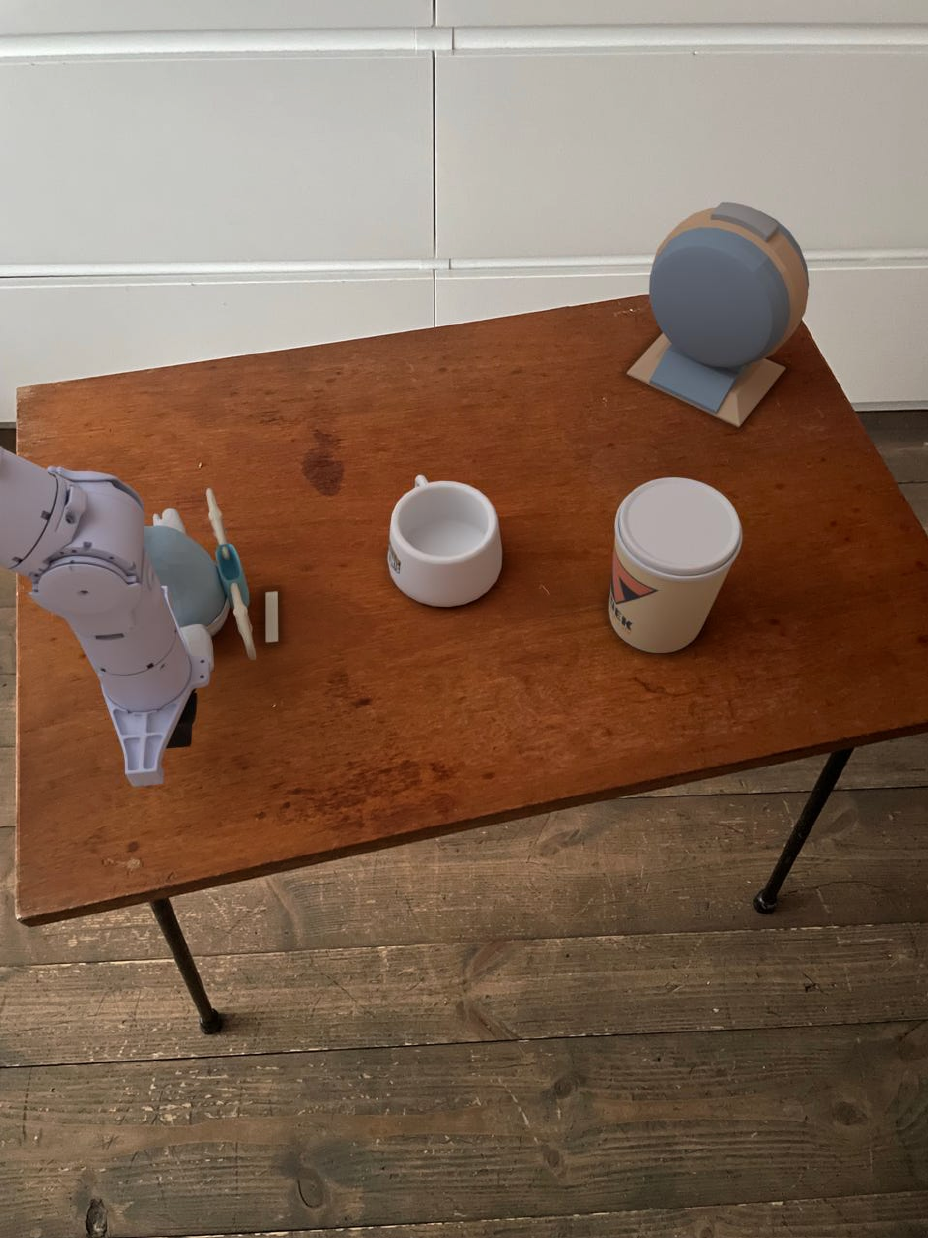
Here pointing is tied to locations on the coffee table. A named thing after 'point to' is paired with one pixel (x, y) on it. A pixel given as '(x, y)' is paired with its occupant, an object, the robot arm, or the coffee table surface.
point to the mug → (444, 543)
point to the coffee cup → (670, 561)
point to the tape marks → (271, 617)
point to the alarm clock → (723, 309)
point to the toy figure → (199, 580)
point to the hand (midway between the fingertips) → (177, 739)
